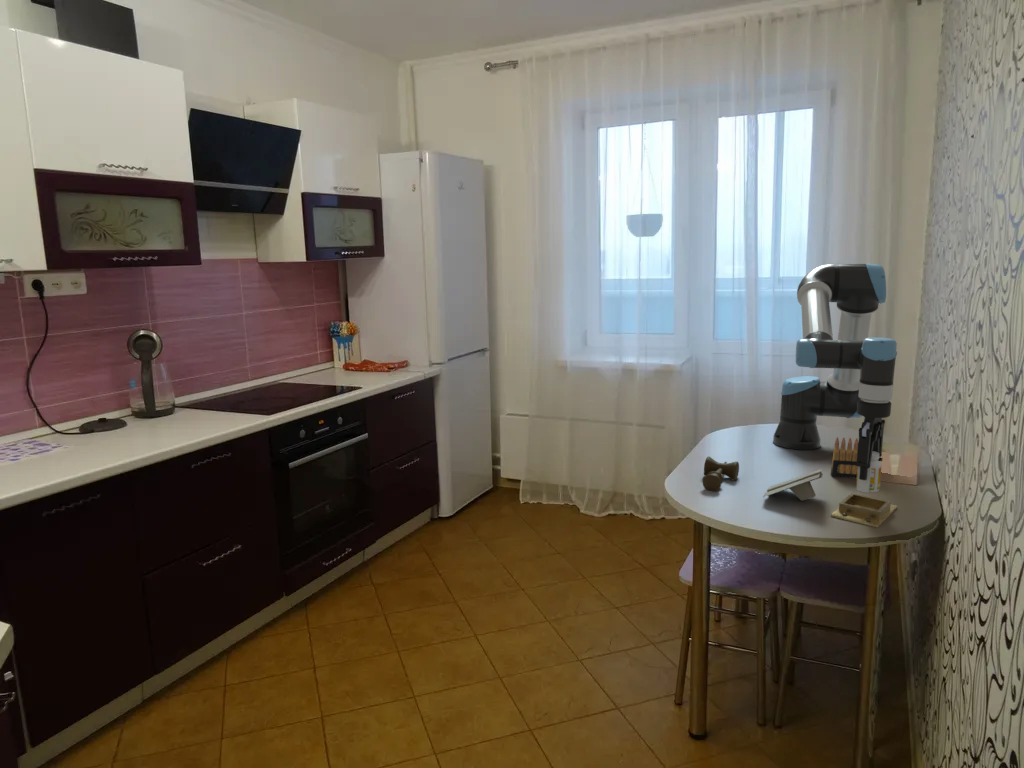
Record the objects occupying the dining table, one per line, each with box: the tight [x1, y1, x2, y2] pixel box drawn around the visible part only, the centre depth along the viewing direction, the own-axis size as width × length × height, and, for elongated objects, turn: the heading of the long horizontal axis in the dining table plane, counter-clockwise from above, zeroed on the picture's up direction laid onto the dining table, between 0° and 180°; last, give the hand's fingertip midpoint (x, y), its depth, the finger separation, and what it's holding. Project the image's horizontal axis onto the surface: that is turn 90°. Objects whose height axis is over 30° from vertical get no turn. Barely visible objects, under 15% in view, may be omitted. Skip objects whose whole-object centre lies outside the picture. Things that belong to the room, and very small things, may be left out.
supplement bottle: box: [855, 451, 882, 493], centre depth 177 cm, size 5×5×10 cm
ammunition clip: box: [830, 437, 859, 479], centre depth 205 cm, size 11×2×12 cm, turn 74°
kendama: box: [702, 455, 740, 492], centre depth 204 cm, size 6×10×20 cm
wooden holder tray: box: [830, 492, 898, 528], centre depth 179 cm, size 17×11×3 cm, turn 137°
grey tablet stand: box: [762, 468, 824, 502], centre depth 188 cm, size 16×9×15 cm
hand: (866, 487), depth 178 cm, fingers closed on supplement bottle, 5 cm apart
